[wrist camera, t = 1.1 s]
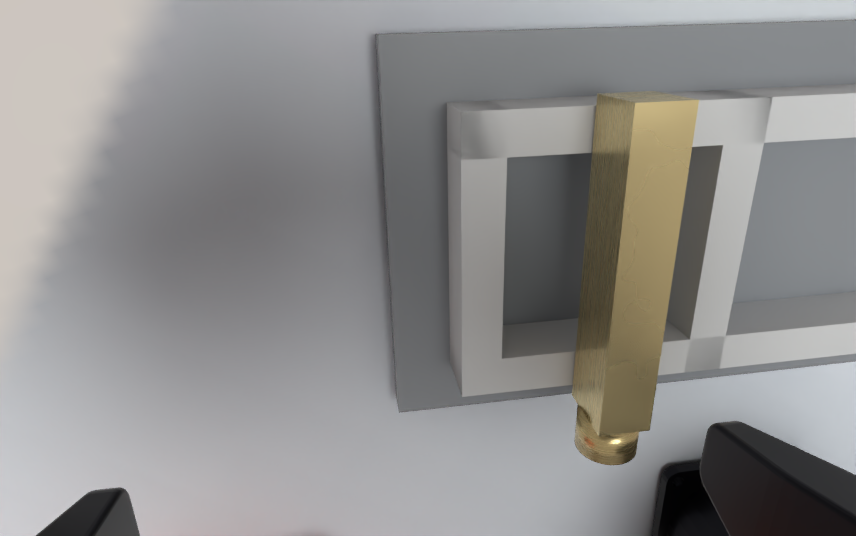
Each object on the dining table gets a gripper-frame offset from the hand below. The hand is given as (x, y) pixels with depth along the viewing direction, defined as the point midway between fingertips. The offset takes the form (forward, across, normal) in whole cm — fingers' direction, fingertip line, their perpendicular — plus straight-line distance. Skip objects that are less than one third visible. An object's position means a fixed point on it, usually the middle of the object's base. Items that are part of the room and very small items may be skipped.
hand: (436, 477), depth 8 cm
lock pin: (+8, -6, +1) cm, 10 cm away
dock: (+11, -9, 0) cm, 14 cm away
